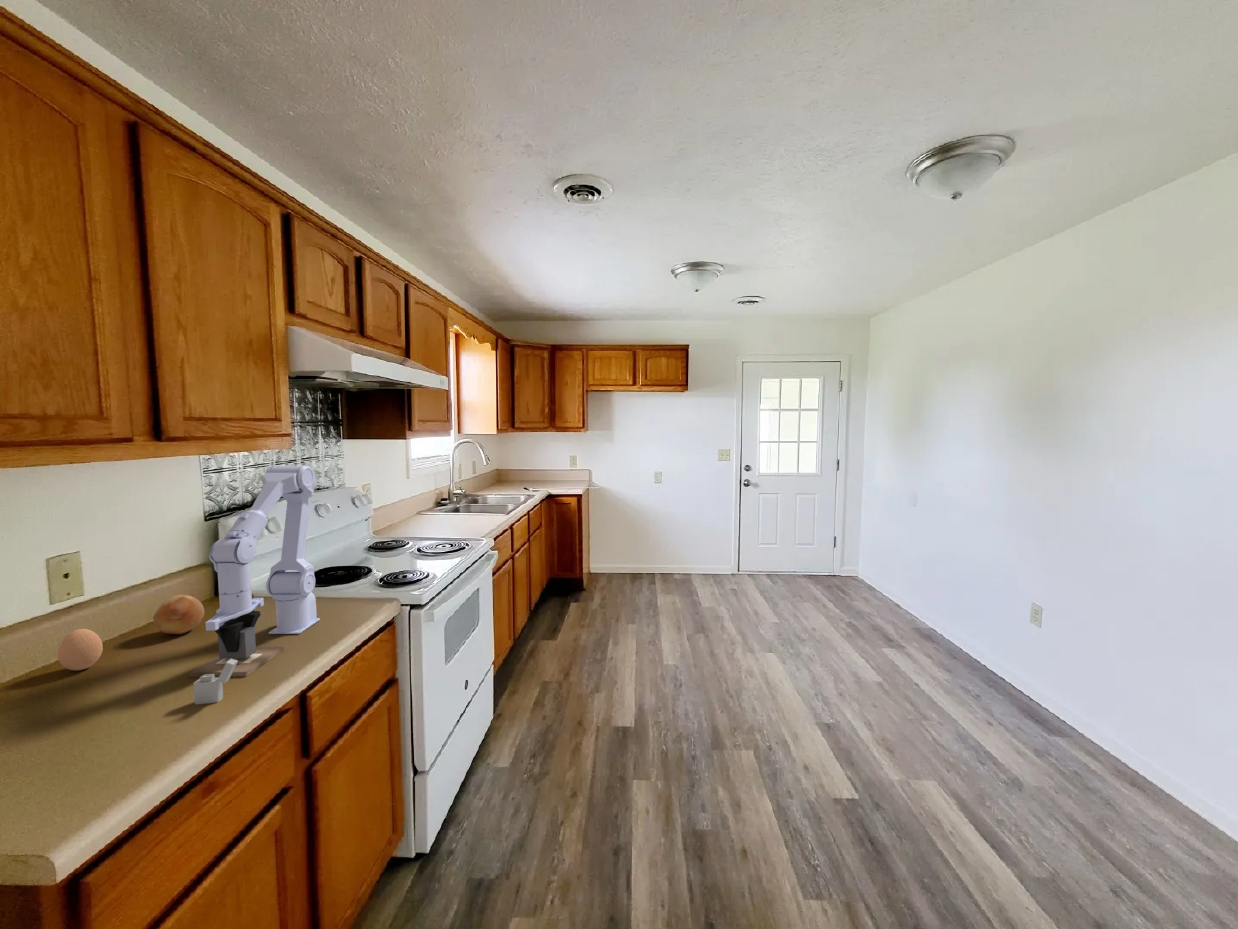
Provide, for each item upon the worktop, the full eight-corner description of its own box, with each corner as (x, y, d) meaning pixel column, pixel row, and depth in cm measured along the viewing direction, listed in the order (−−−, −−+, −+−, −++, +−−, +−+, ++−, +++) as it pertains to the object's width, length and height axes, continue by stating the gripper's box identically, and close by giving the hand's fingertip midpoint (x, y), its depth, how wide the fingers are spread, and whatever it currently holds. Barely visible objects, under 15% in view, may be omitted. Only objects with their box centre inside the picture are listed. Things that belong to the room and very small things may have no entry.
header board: (233, 651, 115) (232, 637, 115) (283, 650, 116) (283, 636, 115) (190, 677, 103) (189, 661, 103) (246, 676, 104) (245, 661, 103)
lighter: (194, 704, 93) (191, 665, 92) (199, 699, 95) (197, 661, 94) (235, 700, 95) (233, 661, 94) (240, 695, 96) (238, 657, 96)
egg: (112, 662, 110) (109, 624, 109) (77, 677, 103) (74, 636, 102) (86, 661, 110) (83, 623, 109) (50, 676, 103) (46, 635, 103)
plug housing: (229, 652, 111) (228, 627, 110) (256, 651, 111) (254, 627, 110) (219, 658, 108) (217, 632, 107) (246, 658, 108) (244, 632, 107)
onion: (147, 636, 123) (144, 598, 123) (195, 622, 132) (193, 587, 131) (164, 644, 119) (161, 605, 118) (212, 629, 128) (210, 593, 127)
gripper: (241, 580, 115) (244, 634, 116) (189, 602, 101) (193, 663, 102) (271, 580, 115) (274, 634, 116) (223, 601, 101) (227, 663, 102)
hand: (238, 648), depth 109 cm, fingers closed on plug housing, 3 cm apart
